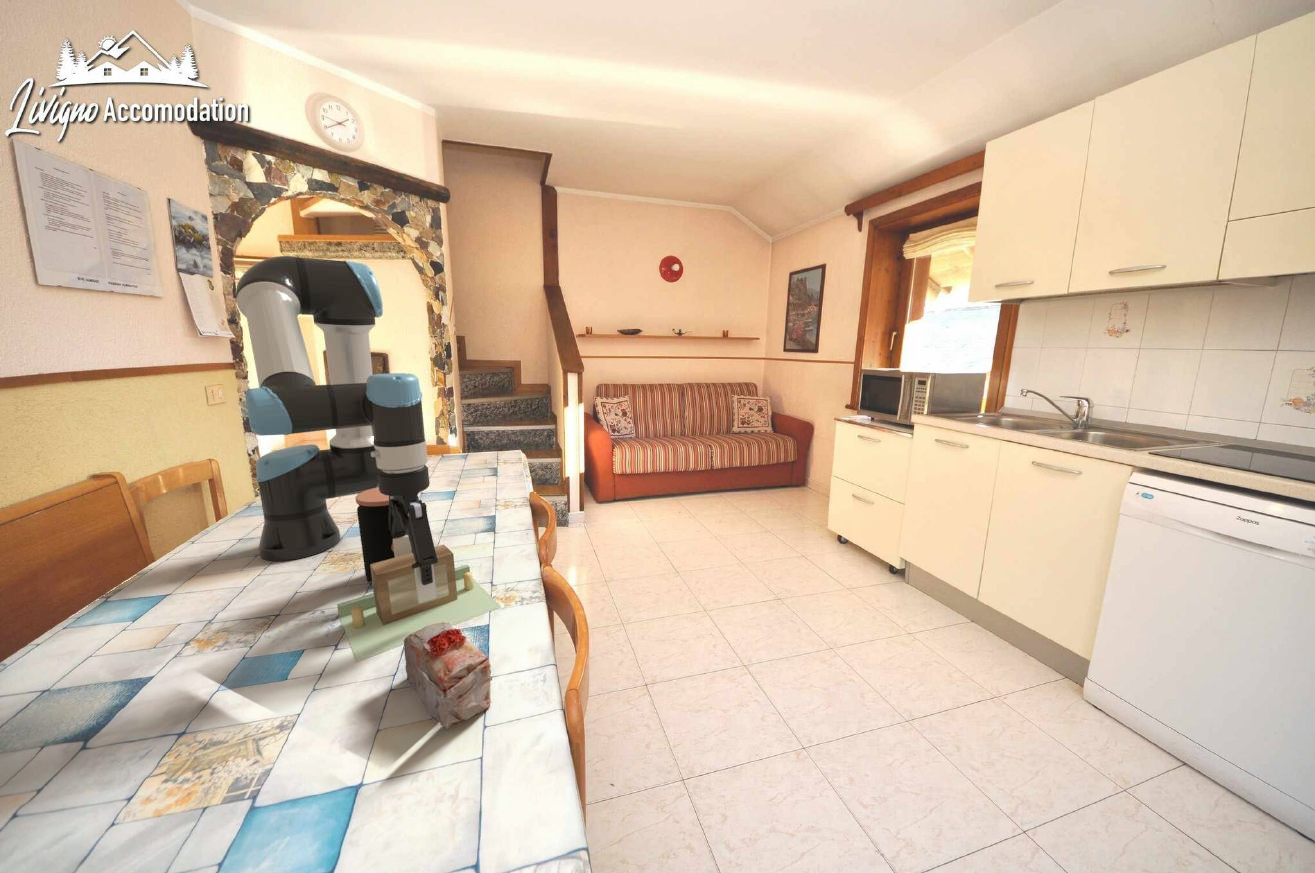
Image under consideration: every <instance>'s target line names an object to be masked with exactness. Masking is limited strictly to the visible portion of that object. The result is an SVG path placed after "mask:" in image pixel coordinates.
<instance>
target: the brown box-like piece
mask: <svg viewBox="0 0 1315 873" xmlns="http://www.w3.org/2000/svg"><path fill="white" fill-rule="evenodd" d="M434 547H435V552H436V556H437V559H438V562H437V563H435V564H433V565H434V575H435V585H436V595H437V598H435V599H432V600H429V601H426V602H423V603H420V604H419V602H418V597H417V588H416V579H415V570H414V569H412V567H411V566H412V564H414V563H416V562H415V558H414V555H413V553H410V554H407V555H403V556H399V557H396V558H392V559H388V560H385V561H381V562H377V563H373V564H370V568H371V575H372V582H371V584H372V588H373V590H372V591H373V593H374V598H375V606H376V613H377V615H378V616H379V618H380V620H381V622H382V624H383V625H386V624H388V623H391V622H394V621H397V620H400V619H403V618H406V617H408V616H411V615H414V614H417V613H420V612H423V611H425V610H428V609H431V608H434V607H437V606H440V605H443V604H445V603H448V602H451V601H454V600H457V589H456V578H455V568H456V567H455V558H454V552H453V551H451V550H450V549H449V548H448V547H447V546H446V545H445V544H440V545H437V546H434Z"/></svg>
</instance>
